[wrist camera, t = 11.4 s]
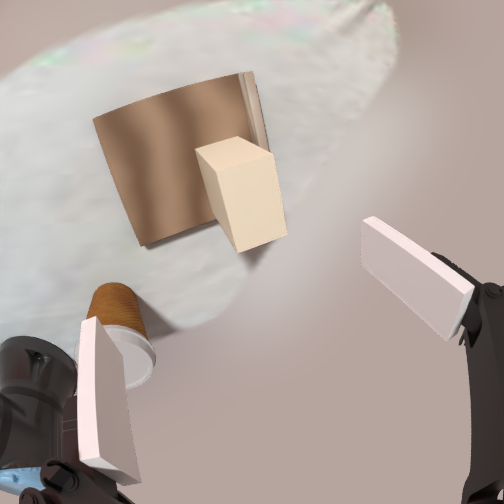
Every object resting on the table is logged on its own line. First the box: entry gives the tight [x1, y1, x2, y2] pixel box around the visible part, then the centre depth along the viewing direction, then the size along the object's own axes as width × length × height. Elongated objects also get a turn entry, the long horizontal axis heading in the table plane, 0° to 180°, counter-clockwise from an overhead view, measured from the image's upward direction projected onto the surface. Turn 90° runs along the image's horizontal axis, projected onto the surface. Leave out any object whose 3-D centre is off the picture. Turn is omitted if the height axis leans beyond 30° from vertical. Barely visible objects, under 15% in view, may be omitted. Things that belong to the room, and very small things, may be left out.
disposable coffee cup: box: [74, 283, 156, 390], centre depth 34 cm, size 10×10×12 cm
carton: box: [195, 136, 287, 253], centre depth 31 cm, size 8×5×10 cm, turn 13°
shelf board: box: [93, 71, 270, 247], centre depth 32 cm, size 17×16×4 cm
